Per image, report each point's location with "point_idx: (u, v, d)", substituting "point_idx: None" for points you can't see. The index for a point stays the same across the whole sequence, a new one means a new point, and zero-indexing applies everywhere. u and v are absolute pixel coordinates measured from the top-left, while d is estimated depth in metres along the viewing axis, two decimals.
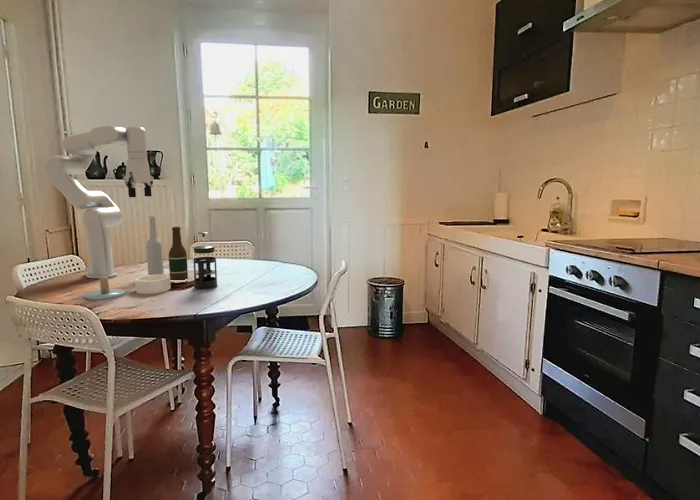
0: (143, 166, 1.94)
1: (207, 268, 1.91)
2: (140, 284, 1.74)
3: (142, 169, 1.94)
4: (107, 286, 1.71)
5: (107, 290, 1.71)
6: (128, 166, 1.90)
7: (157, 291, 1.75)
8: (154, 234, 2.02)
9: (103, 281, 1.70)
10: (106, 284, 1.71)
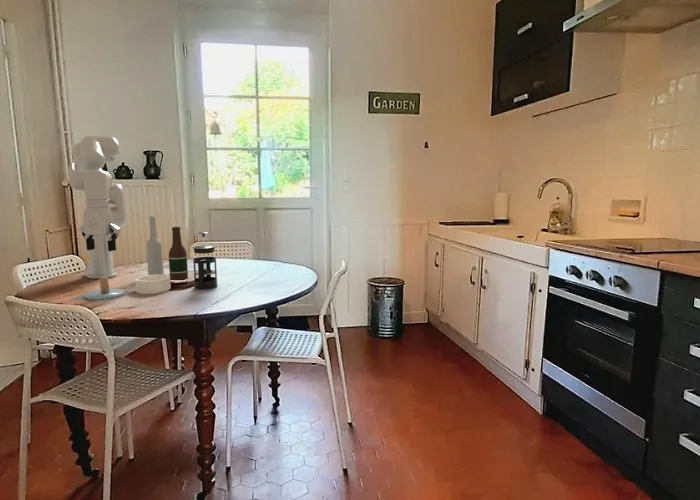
0: None
1: (207, 268, 1.91)
2: (140, 284, 1.74)
3: None
4: (107, 286, 1.71)
5: (107, 290, 1.71)
6: (107, 216, 1.65)
7: (157, 291, 1.75)
8: (154, 234, 2.02)
9: (103, 281, 1.70)
10: (106, 284, 1.71)
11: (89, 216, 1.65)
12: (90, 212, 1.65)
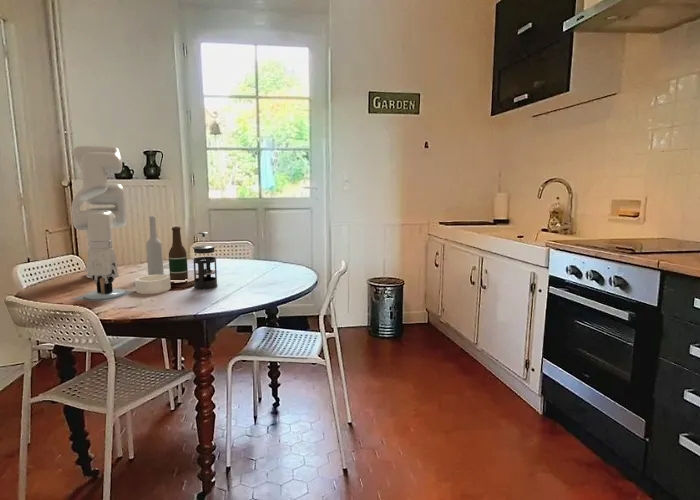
0: None
1: (207, 268, 1.91)
2: (140, 284, 1.74)
3: None
4: None
5: None
6: (110, 257, 1.68)
7: (157, 291, 1.75)
8: (154, 234, 2.02)
9: (103, 281, 1.70)
10: None
11: (93, 257, 1.67)
12: (93, 253, 1.67)
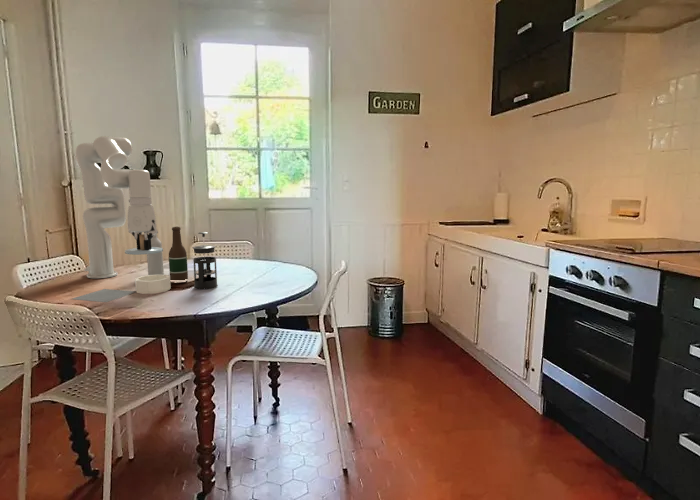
0: None
1: (207, 268, 1.91)
2: (140, 284, 1.74)
3: None
4: None
5: None
6: (150, 213, 1.72)
7: (157, 291, 1.75)
8: None
9: (142, 238, 1.75)
10: None
11: (133, 214, 1.72)
12: (134, 209, 1.72)
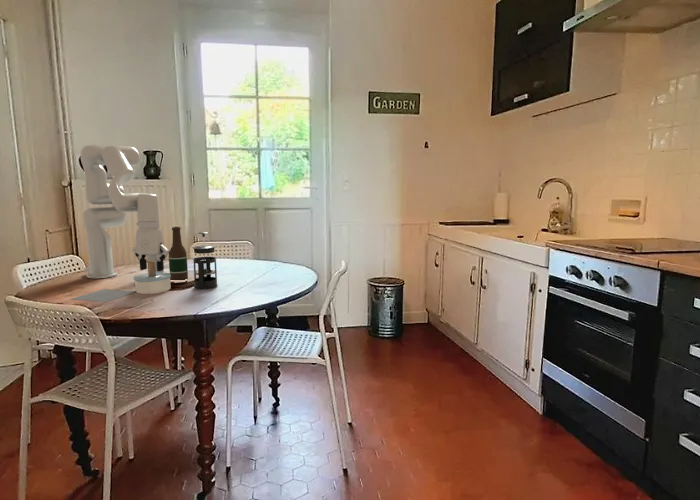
0: None
1: (207, 268, 1.91)
2: (140, 284, 1.74)
3: None
4: (154, 269, 1.79)
5: (154, 273, 1.79)
6: (158, 237, 1.75)
7: (157, 291, 1.75)
8: None
9: (151, 264, 1.78)
10: (153, 267, 1.78)
11: (142, 237, 1.75)
12: (142, 233, 1.75)
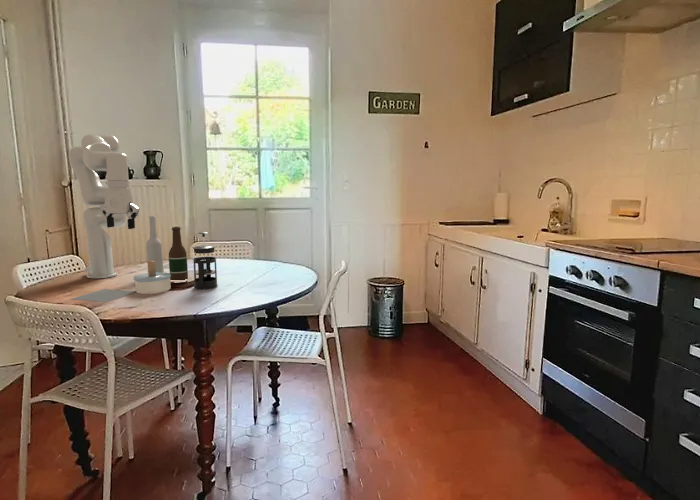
0: None
1: (207, 268, 1.91)
2: (140, 284, 1.74)
3: None
4: (154, 269, 1.79)
5: (154, 273, 1.79)
6: (128, 196, 1.76)
7: (157, 291, 1.75)
8: (154, 234, 2.02)
9: (151, 264, 1.78)
10: (153, 267, 1.78)
11: (111, 196, 1.76)
12: (111, 192, 1.75)
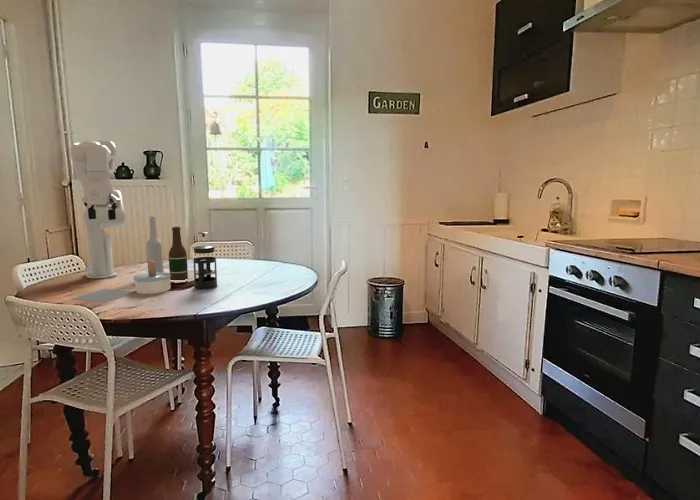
0: None
1: (207, 268, 1.91)
2: (140, 284, 1.74)
3: None
4: (154, 269, 1.79)
5: (154, 273, 1.79)
6: (108, 187, 1.78)
7: (157, 291, 1.75)
8: (154, 234, 2.02)
9: (151, 264, 1.78)
10: (153, 267, 1.78)
11: (91, 187, 1.77)
12: (91, 183, 1.77)
